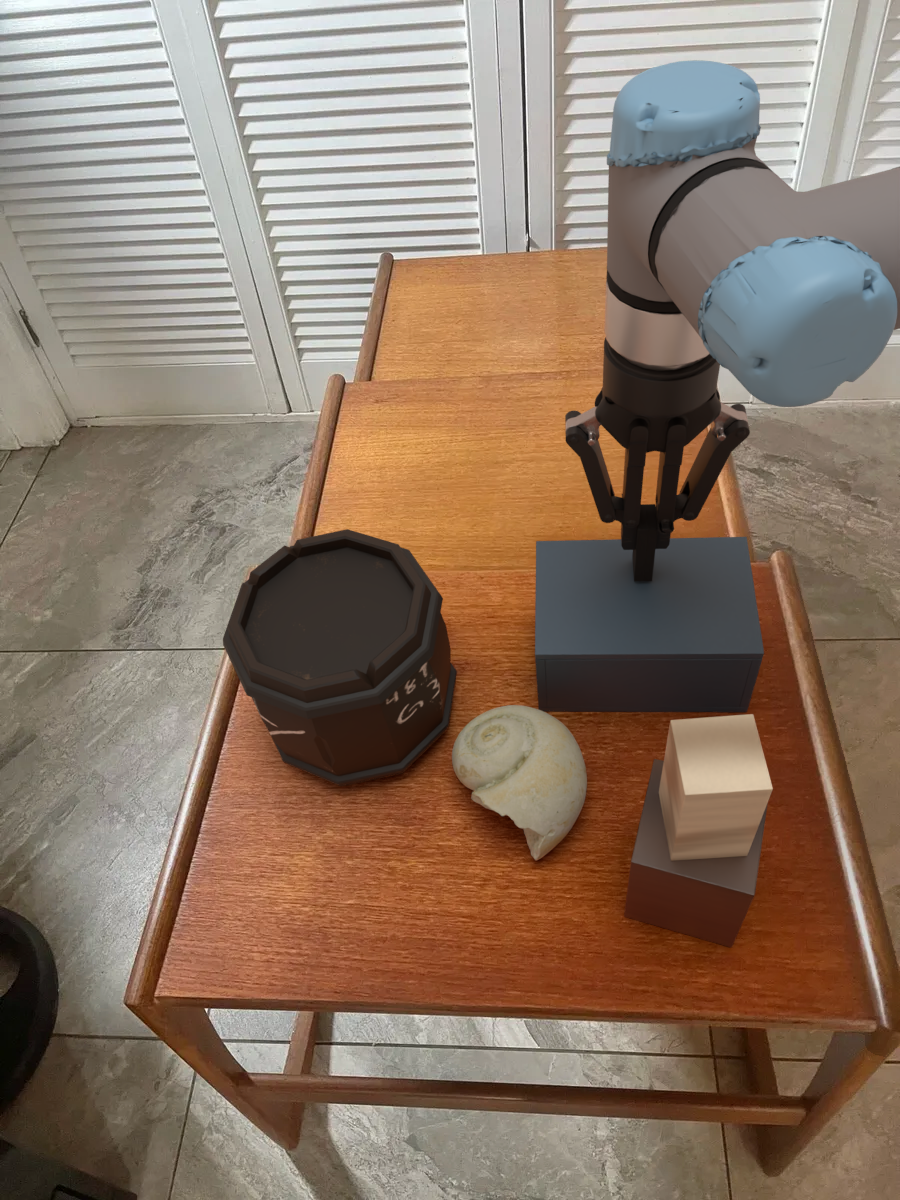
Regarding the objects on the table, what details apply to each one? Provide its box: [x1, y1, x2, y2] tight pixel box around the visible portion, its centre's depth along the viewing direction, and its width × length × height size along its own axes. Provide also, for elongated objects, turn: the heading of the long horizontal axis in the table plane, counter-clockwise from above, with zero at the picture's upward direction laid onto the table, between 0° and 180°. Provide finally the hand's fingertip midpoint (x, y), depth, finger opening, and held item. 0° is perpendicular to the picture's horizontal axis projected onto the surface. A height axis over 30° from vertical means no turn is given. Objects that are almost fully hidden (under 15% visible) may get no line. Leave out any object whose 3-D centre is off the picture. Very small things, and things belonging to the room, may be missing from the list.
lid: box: [534, 536, 765, 660], centre depth 76 cm, size 12×18×1 cm, turn 86°
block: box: [659, 713, 774, 861], centre depth 57 cm, size 5×5×10 cm
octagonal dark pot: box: [222, 528, 458, 787], centre depth 77 cm, size 18×18×16 cm
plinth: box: [623, 758, 769, 948], centre depth 66 cm, size 8×8×11 cm
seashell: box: [451, 704, 588, 861], centre depth 73 cm, size 13×8×10 cm
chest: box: [534, 658, 763, 713], centre depth 79 cm, size 11×18×8 cm, turn 86°
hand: (642, 568), depth 76 cm, fingers closed
